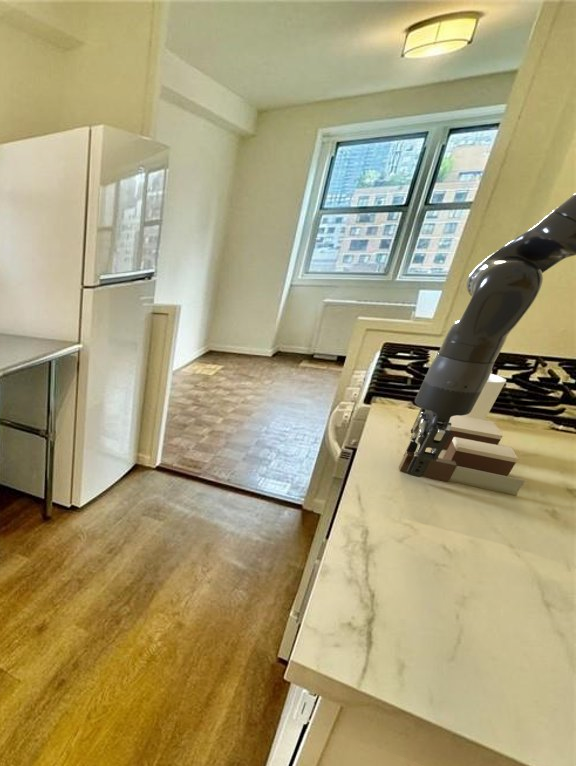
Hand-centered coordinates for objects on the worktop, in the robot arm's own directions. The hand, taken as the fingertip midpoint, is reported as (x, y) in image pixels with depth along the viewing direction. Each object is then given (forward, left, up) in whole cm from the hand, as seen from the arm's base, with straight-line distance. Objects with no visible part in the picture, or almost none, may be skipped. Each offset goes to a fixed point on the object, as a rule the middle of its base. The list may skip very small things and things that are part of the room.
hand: (411, 466), depth 90 cm
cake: (-9, -19, -1) cm, 21 cm away
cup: (-10, -38, -1) cm, 39 cm away
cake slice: (-10, -7, -1) cm, 12 cm away
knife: (-5, 0, -1) cm, 5 cm away
